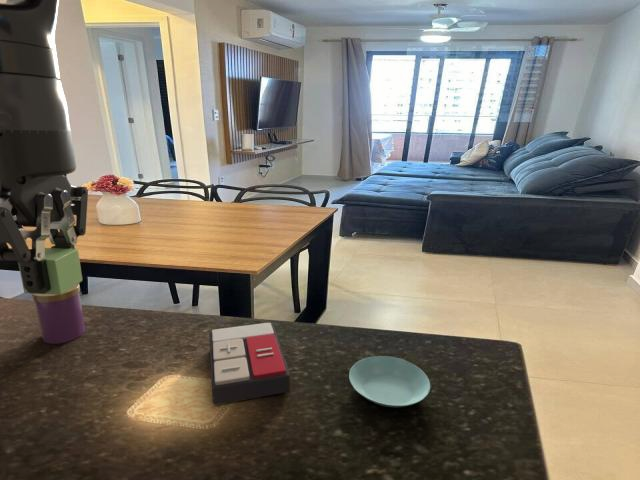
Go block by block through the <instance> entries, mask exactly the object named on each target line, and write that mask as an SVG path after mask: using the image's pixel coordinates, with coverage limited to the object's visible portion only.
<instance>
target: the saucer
mask: <svg viewBox="0 0 640 480" xmlns="http://www.w3.org/2000/svg"><path fill="white" fill-rule="evenodd" d="M348 374H349V375H348V378H349V382H350V384H351V386H352V387H353V389H354V391H356V392H357V393H358V394H359V395H361V396H362V397H363V398H364V399H366V400H368V401H369V402H370V403H373V404H375V405H378V406H382V407H386V408H404V407H405V408H406V407H410V406H412V405H416V404H417V403H419V402H422V401H423V400H424V399H425V398H427V396H428V395H429V393H430V391H431V382H430V379H429V377H428V376H427V374H426V373H425V372H424V371H423V370H422V369H421V368H420V367H419V366H417V365H416V364H413V363H412V362H409V361H408V360H405V359H402V358H399V357H395V356H387V355H375V356H368V357H364V358H362V359H360V360H358V361H356V362H355V363H354V364H353V365H352V366H351V368H350V369H349V373H348Z"/></svg>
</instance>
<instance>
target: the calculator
mask: <svg viewBox="0 0 640 480" xmlns="http://www.w3.org/2000/svg"><path fill="white" fill-rule="evenodd" d="M208 337H209V357H210V358H209V359H210V360H209V363H210V384H211V385H210V388H211V399H212V400H211V401H212V405H214V406H219V405H222V404H229V403H235V402H240V401H241V402H242V401H246V400H251V399H257V398H262V397H268V396H275V395H278V394H279V395H281V394H285V393H288V392H290V391H291V373H290V371H289V367H288V363H287V361H286V358H285V355H284V352H283V349H282V347H281V343H280V339H279V337H278V334H277V331H276V329H275V326H274V324H273V322H264V323H255V324H247V325H238V326H233V327H224V328H217V329H211V330H210V331H209V335H208Z"/></svg>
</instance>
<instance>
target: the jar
mask: <svg viewBox="0 0 640 480" xmlns="http://www.w3.org/2000/svg"><path fill="white" fill-rule="evenodd" d="M80 293H81V286H80V283H78V284H77V285H75V286H73V287H72V288H70V289H69V290H67V291H66V292H64V293H62V294H61V295H56V294H31V297H32V300H33V301H34V304H35V309H36V314H37V320H38V324H39V329H40V334H41V339H42V341H43V342H44V343H46V344H50V345H51V344H52V345H58V344H63V343H67V342H71V341H74V340H76V339H78V338H80V337H81V336H83V335H84V334H85V332H86V325H85V324H86V323H85V318H84V311H83V306H82V301H81V300H82V299H81V294H80Z"/></svg>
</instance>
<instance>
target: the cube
mask: <svg viewBox="0 0 640 480" xmlns="http://www.w3.org/2000/svg"><path fill="white" fill-rule="evenodd" d="M44 259H46V263H47V268H48V274H49V280H50V285H51V290H50V291H48V292H46V293H45V294H56V295H61V294H62V293H64V292H66V291H67V290H69V289H70V288H72V287H73V286H75V285H77V284H78V283H79V284H80V283H82V282H83V274H82V267H81V261H80V254H79V249H78V248H75V249H63V248H51V247H45V256H44ZM17 264H18V269H19V274H20V278H21V283H22V289H23V293H24V294H29V295H30V294H31V295H32V294H36V293H29V292H28V291H27V290H26V289H25V287H24V285H23V280H22V278H23V277H22V275H21V270H20V265H19V263H18V262H17Z"/></svg>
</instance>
